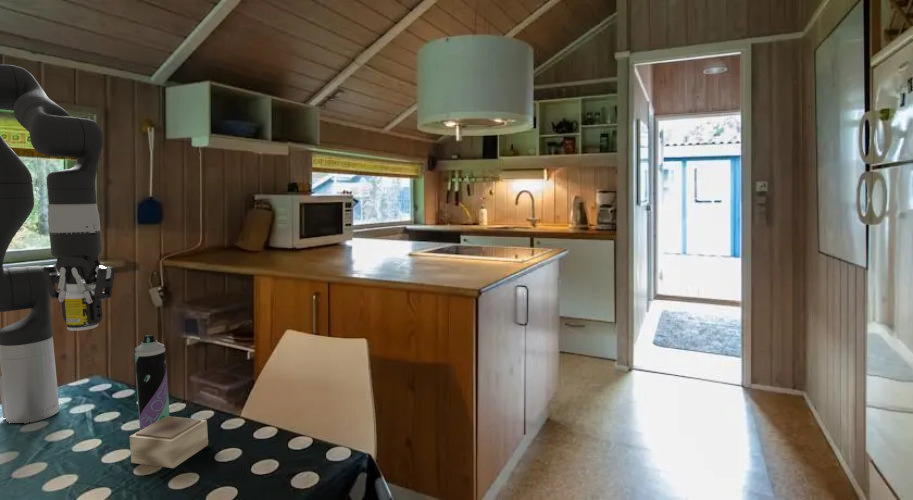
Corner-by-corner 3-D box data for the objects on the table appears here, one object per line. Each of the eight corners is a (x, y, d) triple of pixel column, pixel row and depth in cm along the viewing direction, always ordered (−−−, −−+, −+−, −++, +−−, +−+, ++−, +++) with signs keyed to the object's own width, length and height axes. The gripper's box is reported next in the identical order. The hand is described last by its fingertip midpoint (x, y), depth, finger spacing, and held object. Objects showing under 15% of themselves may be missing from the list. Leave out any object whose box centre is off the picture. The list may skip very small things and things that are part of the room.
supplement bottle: (86, 331, 94) (82, 285, 94) (60, 331, 95) (56, 285, 94) (104, 324, 99) (101, 280, 98) (80, 324, 99) (76, 280, 98)
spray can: (147, 437, 105) (140, 340, 103) (135, 430, 109) (128, 336, 107) (175, 428, 110) (169, 334, 108) (163, 421, 113) (156, 330, 111)
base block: (131, 462, 96) (129, 434, 95) (168, 440, 104) (167, 414, 104) (173, 468, 94) (171, 439, 93) (208, 444, 102) (206, 418, 102)
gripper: (22, 230, 93) (31, 325, 95) (88, 231, 90) (96, 329, 92) (63, 227, 100) (70, 315, 102) (125, 228, 97) (132, 319, 99)
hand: (83, 321), depth 97 cm, fingers closed on supplement bottle, 4 cm apart
